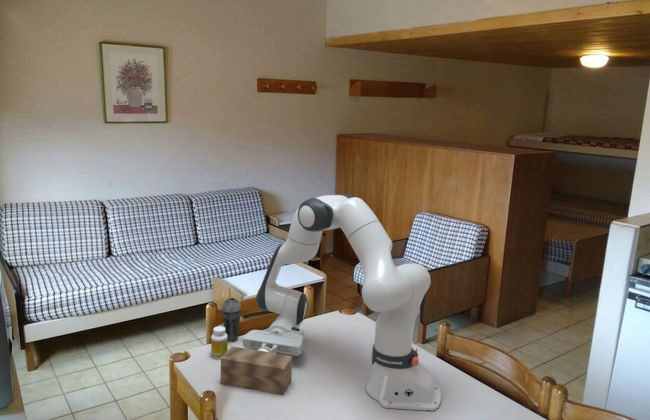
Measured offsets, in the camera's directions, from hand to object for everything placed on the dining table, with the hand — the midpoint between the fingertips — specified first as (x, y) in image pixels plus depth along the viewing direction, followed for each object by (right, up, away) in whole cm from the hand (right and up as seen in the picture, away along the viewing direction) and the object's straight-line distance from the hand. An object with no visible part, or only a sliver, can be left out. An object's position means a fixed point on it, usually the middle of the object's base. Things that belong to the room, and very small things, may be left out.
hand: (265, 353), depth 158 cm
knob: (-1, -3, -4) cm, 5 cm away
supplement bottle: (-17, -4, +10) cm, 20 cm away
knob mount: (-2, -7, -6) cm, 9 cm away
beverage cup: (-15, -1, +22) cm, 26 cm away
